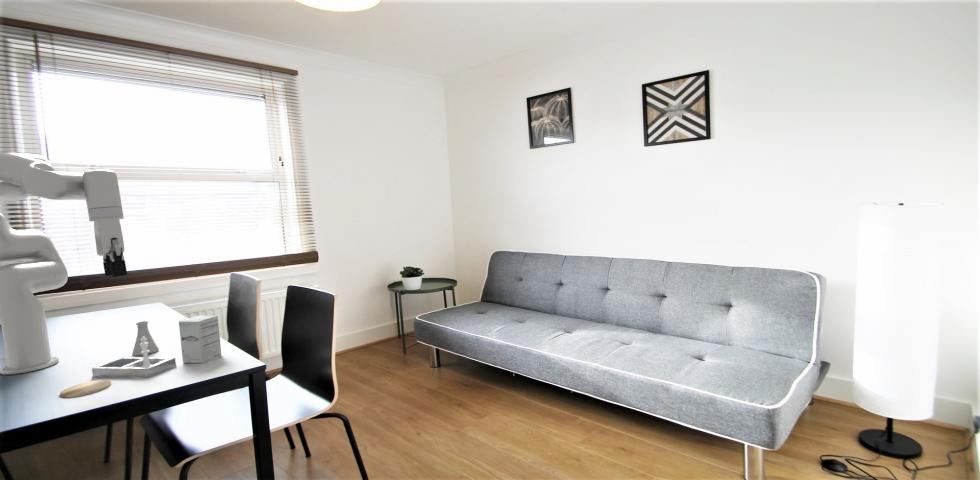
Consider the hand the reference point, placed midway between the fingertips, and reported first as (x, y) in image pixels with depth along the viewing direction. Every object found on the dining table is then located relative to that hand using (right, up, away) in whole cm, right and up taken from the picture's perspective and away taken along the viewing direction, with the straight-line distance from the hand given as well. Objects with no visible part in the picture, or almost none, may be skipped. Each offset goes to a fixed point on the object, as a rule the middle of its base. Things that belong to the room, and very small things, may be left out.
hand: (116, 275), depth 133 cm
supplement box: (+19, -26, +8) cm, 33 cm away
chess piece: (+9, -27, 0) cm, 29 cm away
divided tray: (+5, -27, +1) cm, 28 cm away
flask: (-5, -27, +19) cm, 33 cm away
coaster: (+2, -28, -12) cm, 31 cm away
